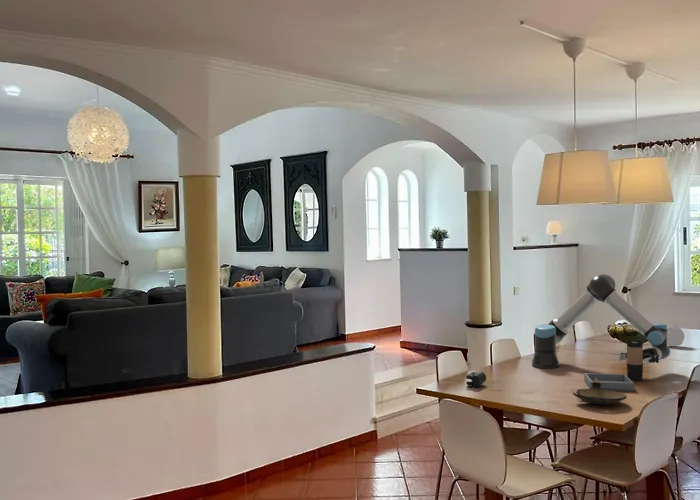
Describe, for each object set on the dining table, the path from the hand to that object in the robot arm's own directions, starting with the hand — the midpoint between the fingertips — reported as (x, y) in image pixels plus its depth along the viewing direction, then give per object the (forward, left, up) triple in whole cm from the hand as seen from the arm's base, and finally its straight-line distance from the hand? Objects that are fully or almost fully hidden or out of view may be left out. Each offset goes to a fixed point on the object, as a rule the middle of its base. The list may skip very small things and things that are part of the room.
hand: (631, 359), depth 332 cm
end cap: (-79, -24, -11) cm, 83 cm away
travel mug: (+2, +2, -11) cm, 12 cm away
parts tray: (-14, -14, -11) cm, 22 cm away
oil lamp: (-23, -47, -11) cm, 53 cm away
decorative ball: (+49, +109, -11) cm, 120 cm away
